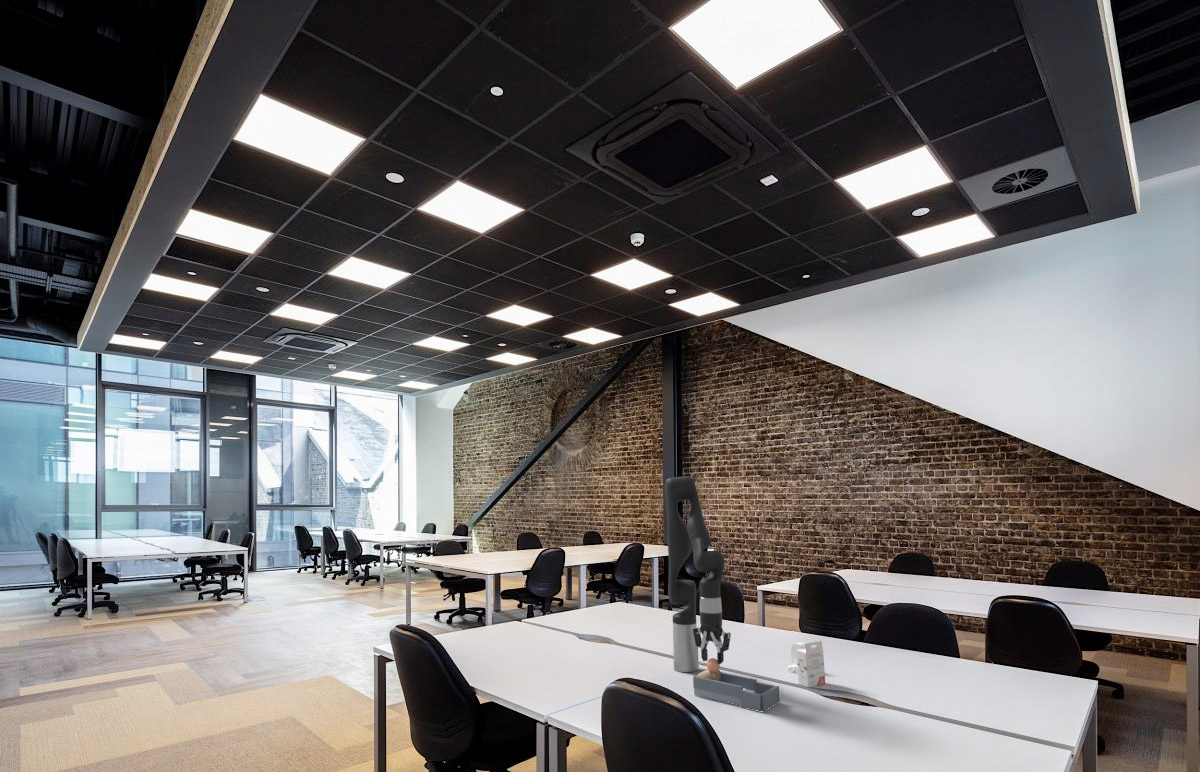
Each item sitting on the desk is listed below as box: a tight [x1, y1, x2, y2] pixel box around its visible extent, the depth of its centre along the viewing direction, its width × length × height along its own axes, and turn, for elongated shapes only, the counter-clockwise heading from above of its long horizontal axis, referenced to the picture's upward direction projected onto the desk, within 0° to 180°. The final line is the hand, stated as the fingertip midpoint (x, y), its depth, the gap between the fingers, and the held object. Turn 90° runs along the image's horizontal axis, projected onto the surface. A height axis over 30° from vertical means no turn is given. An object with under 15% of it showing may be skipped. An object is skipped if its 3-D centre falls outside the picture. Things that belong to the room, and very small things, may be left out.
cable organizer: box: [787, 642, 806, 675], centre depth 241 cm, size 5×10×10 cm, turn 132°
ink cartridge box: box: [796, 640, 826, 689], centre depth 225 cm, size 9×5×15 cm, turn 118°
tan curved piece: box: [696, 669, 722, 681], centre depth 215 cm, size 9×5×5 cm, turn 140°
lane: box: [692, 671, 781, 712], centre depth 209 cm, size 12×26×6 cm, turn 50°
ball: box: [706, 657, 721, 672], centre depth 215 cm, size 4×4×4 cm
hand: (712, 661), depth 215 cm, fingers open, 5 cm apart
